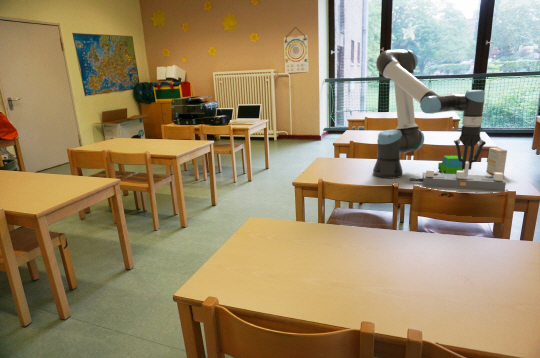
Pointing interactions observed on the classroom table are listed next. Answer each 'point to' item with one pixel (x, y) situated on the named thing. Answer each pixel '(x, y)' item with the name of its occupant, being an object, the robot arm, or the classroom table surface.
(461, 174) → the slider middle
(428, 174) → the slider near arm
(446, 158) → the toy car
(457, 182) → the power strip
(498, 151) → the supplement box
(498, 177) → the block
